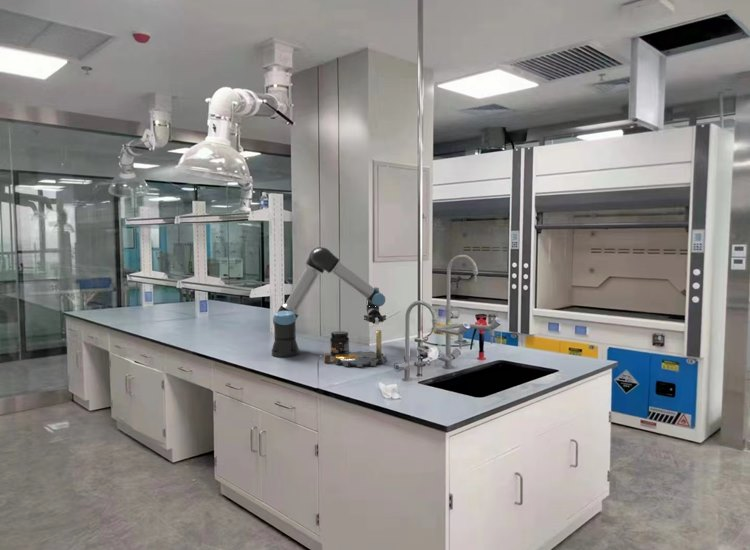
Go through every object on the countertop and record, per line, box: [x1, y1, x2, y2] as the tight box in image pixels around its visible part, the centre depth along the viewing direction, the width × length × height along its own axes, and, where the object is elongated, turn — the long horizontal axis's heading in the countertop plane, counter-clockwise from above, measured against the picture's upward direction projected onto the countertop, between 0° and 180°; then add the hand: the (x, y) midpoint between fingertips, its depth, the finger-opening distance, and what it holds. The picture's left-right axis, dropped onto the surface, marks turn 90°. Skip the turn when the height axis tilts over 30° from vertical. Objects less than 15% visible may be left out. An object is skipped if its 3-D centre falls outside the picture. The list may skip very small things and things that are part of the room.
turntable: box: [332, 329, 387, 368], centre depth 268 cm, size 28×28×16 cm
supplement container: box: [329, 330, 350, 356], centre depth 286 cm, size 10×10×12 cm
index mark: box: [324, 353, 332, 364], centre depth 267 cm, size 3×4×4 cm
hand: (377, 321), depth 278 cm, fingers closed
